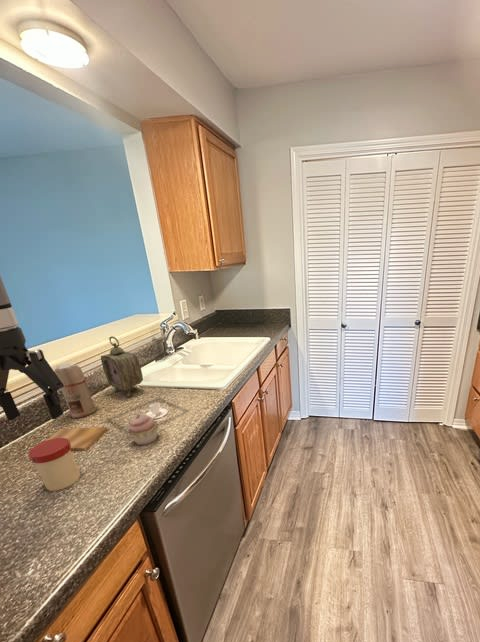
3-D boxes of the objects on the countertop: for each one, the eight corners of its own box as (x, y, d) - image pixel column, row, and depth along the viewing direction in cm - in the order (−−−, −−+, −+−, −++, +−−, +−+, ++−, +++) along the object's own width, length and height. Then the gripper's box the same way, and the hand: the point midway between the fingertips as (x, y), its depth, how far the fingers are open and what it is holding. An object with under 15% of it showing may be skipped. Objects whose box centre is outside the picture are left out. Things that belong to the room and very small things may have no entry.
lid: (22, 463, 80) (19, 457, 79) (47, 444, 88) (45, 438, 87) (55, 463, 80) (53, 456, 79) (78, 443, 88) (76, 437, 87)
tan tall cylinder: (65, 417, 122) (46, 367, 114) (84, 407, 129) (67, 360, 121) (82, 420, 119) (64, 369, 111) (101, 409, 126) (85, 361, 118)
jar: (38, 491, 84) (22, 458, 80) (59, 472, 91) (46, 440, 87) (67, 491, 84) (53, 457, 80) (86, 471, 91) (74, 439, 87)
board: (36, 452, 101) (34, 449, 101) (62, 431, 112) (61, 428, 112) (85, 450, 100) (84, 447, 100) (107, 430, 111) (106, 427, 111)
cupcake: (125, 441, 104) (117, 414, 100) (153, 429, 110) (146, 403, 106) (138, 452, 98) (129, 424, 94) (167, 438, 105) (160, 411, 101)
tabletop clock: (110, 392, 141) (93, 337, 131) (130, 385, 148) (115, 331, 138) (127, 400, 133) (111, 341, 123) (148, 391, 140) (133, 335, 130)
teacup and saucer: (150, 423, 114) (147, 413, 113) (138, 417, 119) (136, 407, 117) (172, 413, 121) (170, 403, 119) (160, 407, 125) (158, 398, 124)
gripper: (-70, 335, 68) (-23, 426, 77) (35, 331, 67) (71, 423, 76) (-36, 327, 75) (4, 411, 83) (61, 322, 74) (90, 408, 83)
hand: (36, 417), depth 80 cm, fingers open, 10 cm apart
